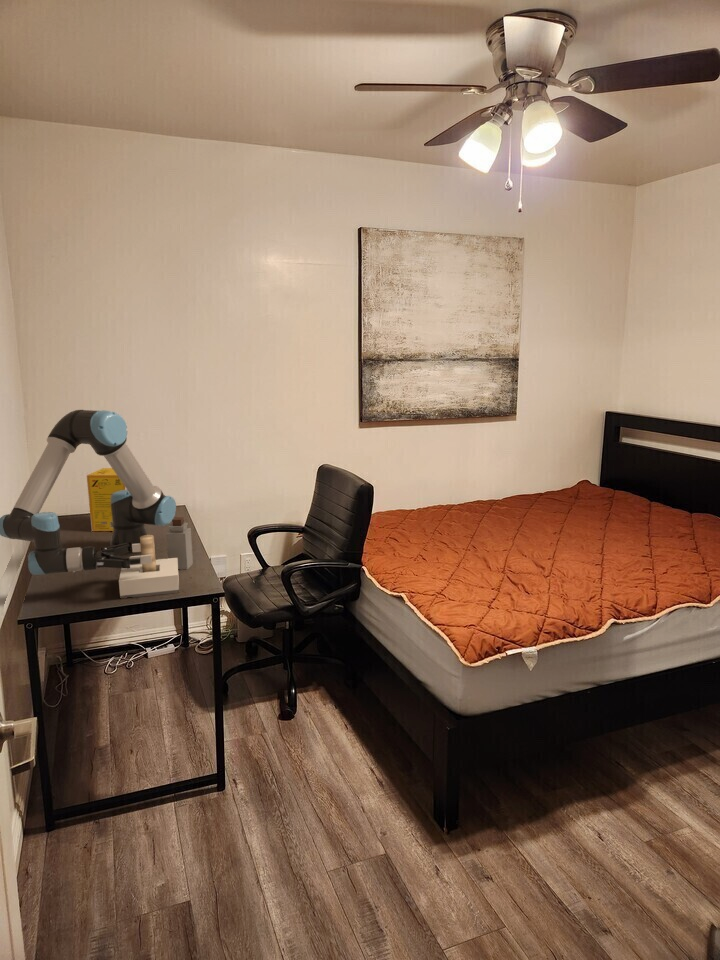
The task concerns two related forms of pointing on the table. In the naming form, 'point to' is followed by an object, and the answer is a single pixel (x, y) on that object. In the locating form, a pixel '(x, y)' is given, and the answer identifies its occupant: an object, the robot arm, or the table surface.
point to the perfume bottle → (180, 543)
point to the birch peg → (148, 552)
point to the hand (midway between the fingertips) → (152, 552)
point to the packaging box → (102, 497)
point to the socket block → (150, 579)
